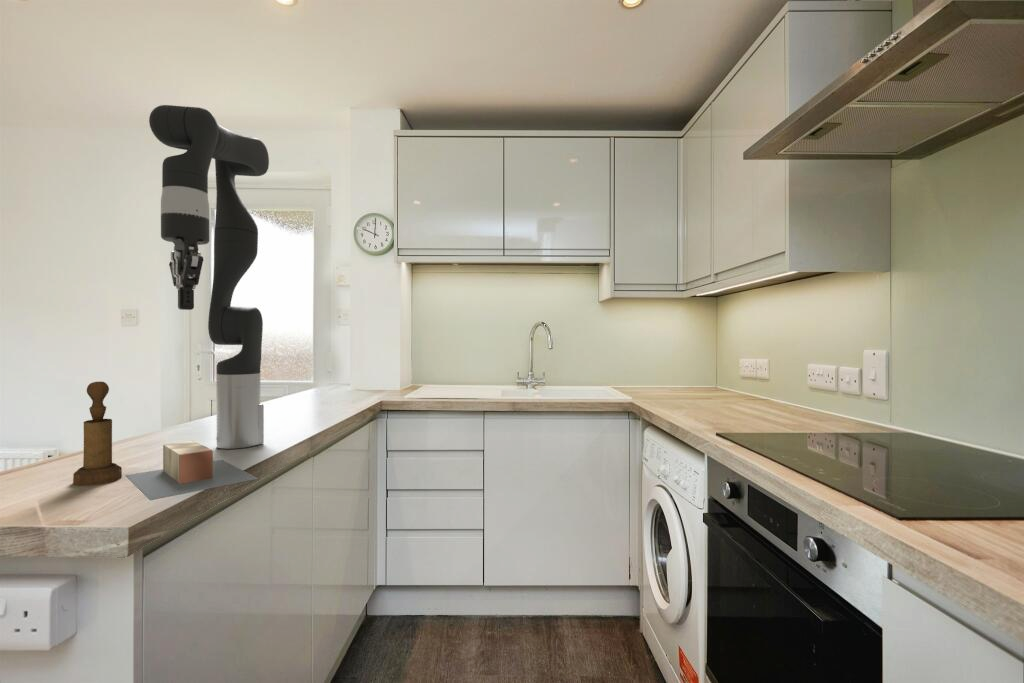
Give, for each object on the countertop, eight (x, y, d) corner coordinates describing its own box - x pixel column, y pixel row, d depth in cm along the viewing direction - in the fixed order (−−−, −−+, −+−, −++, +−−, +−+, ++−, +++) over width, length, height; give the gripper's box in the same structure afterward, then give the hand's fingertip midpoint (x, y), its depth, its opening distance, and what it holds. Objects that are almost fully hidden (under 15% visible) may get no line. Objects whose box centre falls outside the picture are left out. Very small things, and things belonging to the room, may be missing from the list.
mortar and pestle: (93, 489, 83) (93, 383, 83) (63, 487, 85) (62, 382, 85) (131, 478, 90) (130, 380, 90) (102, 476, 91) (101, 379, 91)
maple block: (212, 477, 89) (193, 465, 97) (212, 450, 89) (193, 440, 97) (180, 483, 85) (163, 470, 93) (180, 454, 85) (163, 444, 93)
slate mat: (222, 462, 102) (222, 459, 102) (258, 481, 88) (258, 478, 88) (125, 477, 90) (125, 475, 90) (150, 503, 77) (150, 499, 77)
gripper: (219, 213, 89) (220, 309, 89) (198, 225, 98) (198, 311, 99) (170, 205, 84) (170, 307, 84) (152, 218, 93) (153, 310, 93)
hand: (185, 309), depth 91 cm, fingers closed
